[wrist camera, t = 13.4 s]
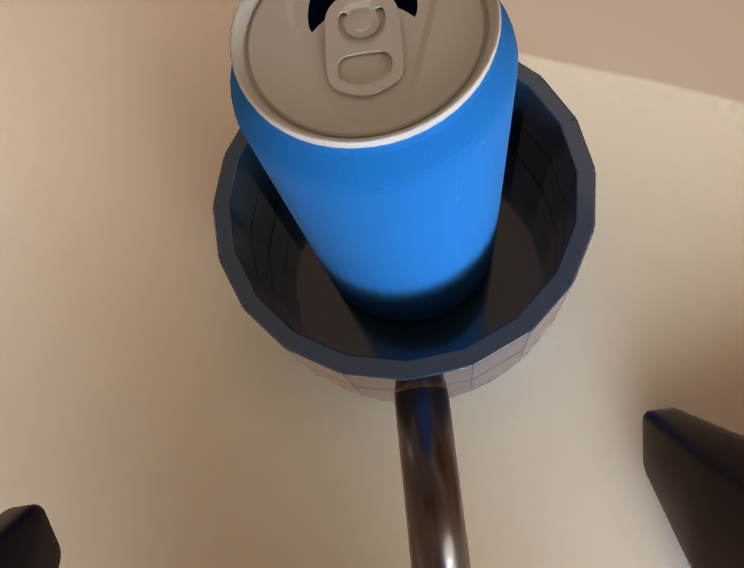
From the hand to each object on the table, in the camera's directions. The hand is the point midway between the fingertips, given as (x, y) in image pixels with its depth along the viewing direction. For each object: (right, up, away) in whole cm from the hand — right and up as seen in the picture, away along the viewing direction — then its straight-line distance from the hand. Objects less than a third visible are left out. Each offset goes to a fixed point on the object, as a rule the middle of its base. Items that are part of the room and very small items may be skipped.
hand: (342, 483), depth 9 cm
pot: (+2, +4, +15) cm, 16 cm away
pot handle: (+2, -3, +9) cm, 10 cm away
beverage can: (+2, +4, +15) cm, 16 cm away
